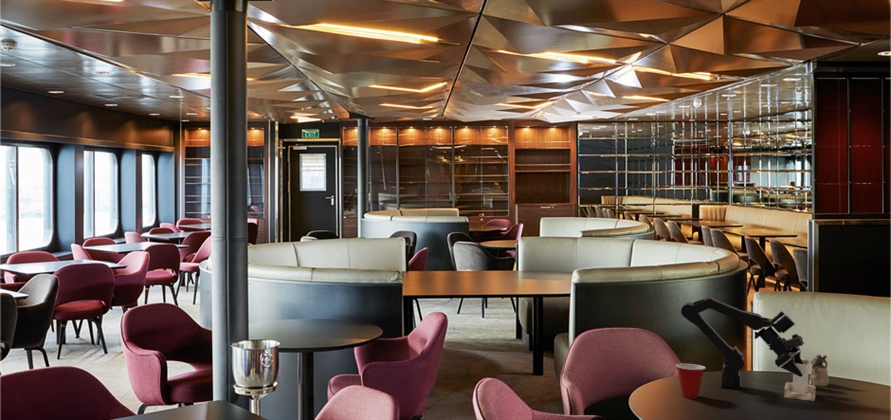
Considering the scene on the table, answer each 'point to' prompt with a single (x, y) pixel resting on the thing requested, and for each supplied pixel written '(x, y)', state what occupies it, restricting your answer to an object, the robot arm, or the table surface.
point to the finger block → (801, 380)
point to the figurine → (819, 371)
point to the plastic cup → (690, 379)
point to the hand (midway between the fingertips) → (804, 373)
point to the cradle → (790, 394)
